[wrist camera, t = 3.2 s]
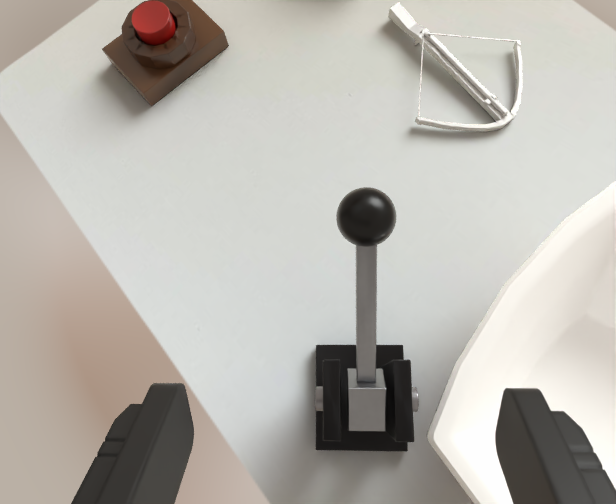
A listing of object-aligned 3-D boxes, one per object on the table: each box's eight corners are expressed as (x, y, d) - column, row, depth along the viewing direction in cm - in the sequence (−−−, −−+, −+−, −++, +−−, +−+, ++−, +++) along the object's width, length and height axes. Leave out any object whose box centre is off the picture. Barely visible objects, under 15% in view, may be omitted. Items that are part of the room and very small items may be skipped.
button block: (151, 106, 48) (135, 82, 45) (111, 63, 50) (92, 36, 46) (229, 45, 50) (219, 17, 46) (187, 5, 51) (175, -26, 48)
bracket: (317, 346, 41) (305, 328, 29) (401, 346, 41) (426, 328, 28) (316, 448, 39) (304, 475, 27) (405, 449, 38) (435, 478, 26)
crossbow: (552, 89, 47) (562, 77, 45) (453, 168, 45) (459, 159, 43) (439, -20, 50) (444, -36, 48) (343, 50, 48) (344, 37, 46)
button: (153, 52, 46) (146, 39, 44) (131, 29, 47) (123, 16, 45) (183, 29, 46) (177, 16, 45) (161, 7, 47) (154, -7, 46)
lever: (336, 184, 28) (335, 192, 25) (393, 183, 28) (400, 191, 24) (339, 404, 31) (339, 435, 28) (389, 405, 31) (395, 436, 28)
